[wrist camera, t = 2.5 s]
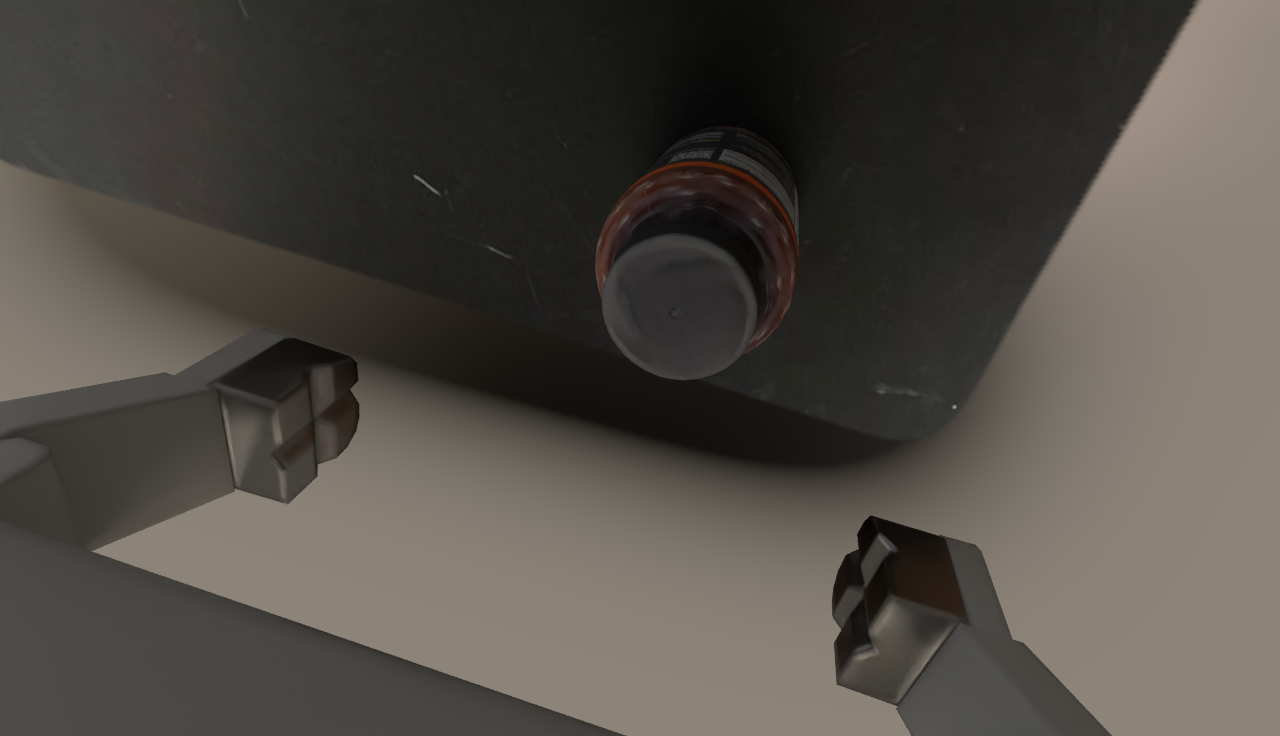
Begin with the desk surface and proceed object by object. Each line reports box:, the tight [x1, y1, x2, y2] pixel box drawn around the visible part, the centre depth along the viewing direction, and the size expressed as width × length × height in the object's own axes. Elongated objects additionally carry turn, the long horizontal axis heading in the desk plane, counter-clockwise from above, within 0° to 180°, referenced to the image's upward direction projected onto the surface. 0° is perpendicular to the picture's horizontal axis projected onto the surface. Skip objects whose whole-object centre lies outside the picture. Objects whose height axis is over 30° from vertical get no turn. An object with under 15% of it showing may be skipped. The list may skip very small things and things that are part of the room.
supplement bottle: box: [595, 126, 799, 380], centre depth 21 cm, size 6×6×11 cm
